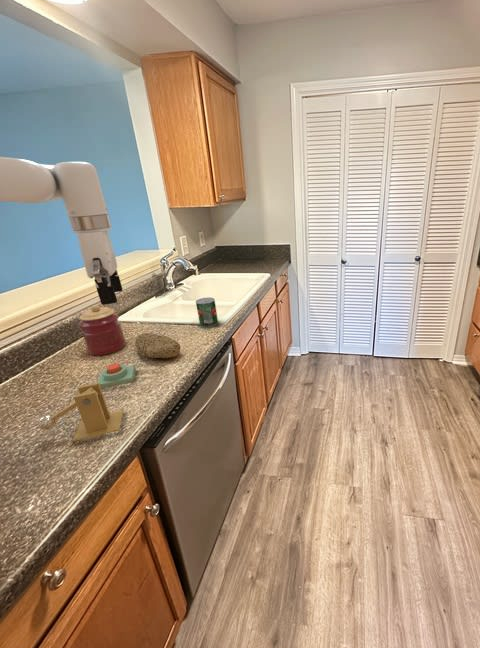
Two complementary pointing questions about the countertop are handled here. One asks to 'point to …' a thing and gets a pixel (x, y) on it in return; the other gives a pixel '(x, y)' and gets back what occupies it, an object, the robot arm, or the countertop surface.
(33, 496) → the countertop surface
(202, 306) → the canned tomato
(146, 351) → the speckled river stone
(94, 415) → the bracket
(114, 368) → the button
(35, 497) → the countertop surface
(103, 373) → the switch block
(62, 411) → the tap lever
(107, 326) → the kitchen canister
